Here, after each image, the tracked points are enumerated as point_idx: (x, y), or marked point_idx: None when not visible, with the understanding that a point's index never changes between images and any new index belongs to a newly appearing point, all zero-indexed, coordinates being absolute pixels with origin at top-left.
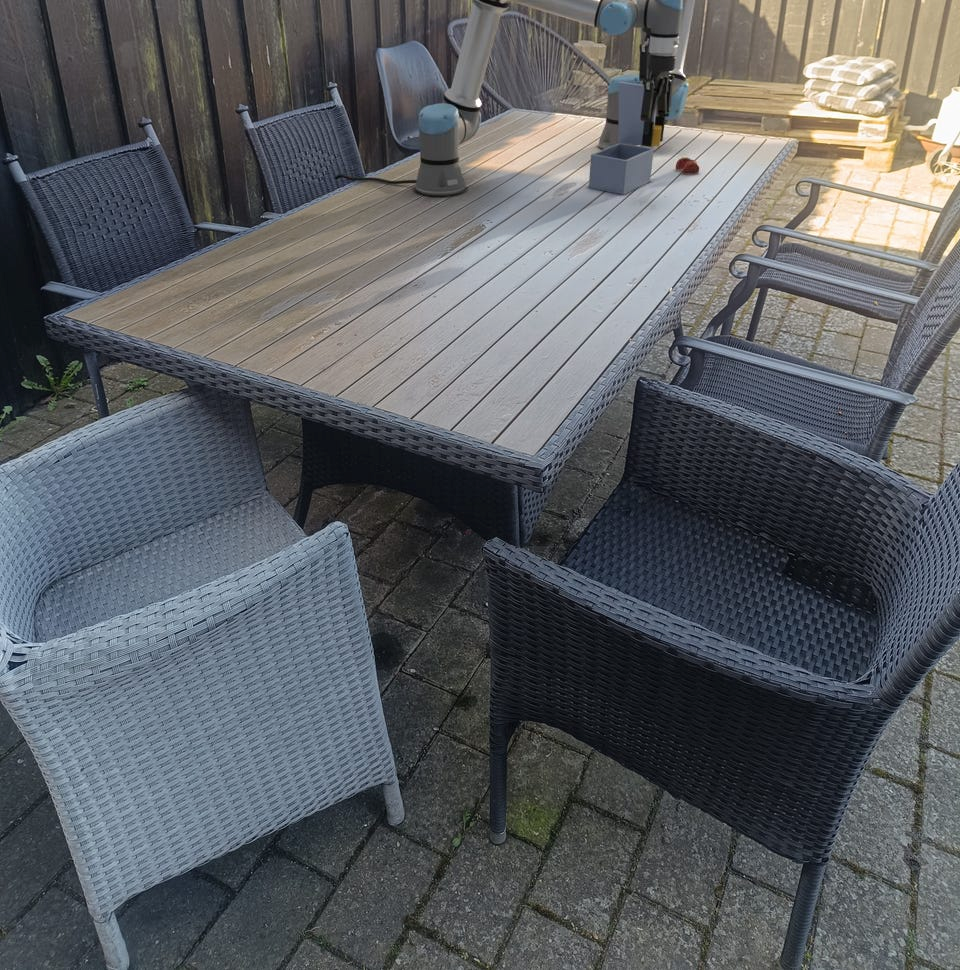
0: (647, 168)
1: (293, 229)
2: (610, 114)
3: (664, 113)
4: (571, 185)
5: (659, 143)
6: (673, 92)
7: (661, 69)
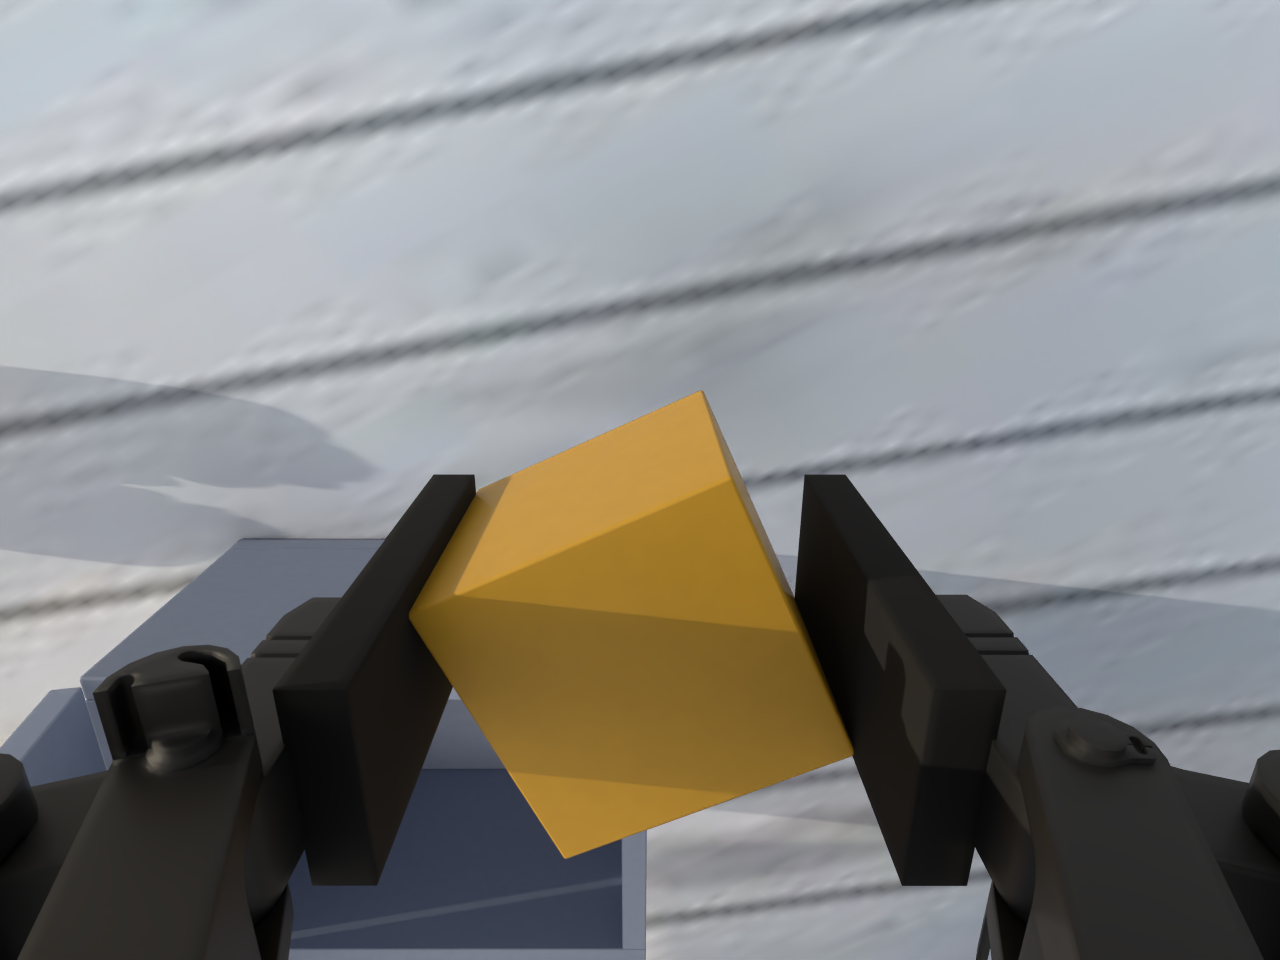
0: (257, 592)
1: None
2: None
3: (251, 784)
4: (666, 855)
5: (707, 402)
6: None
7: None
